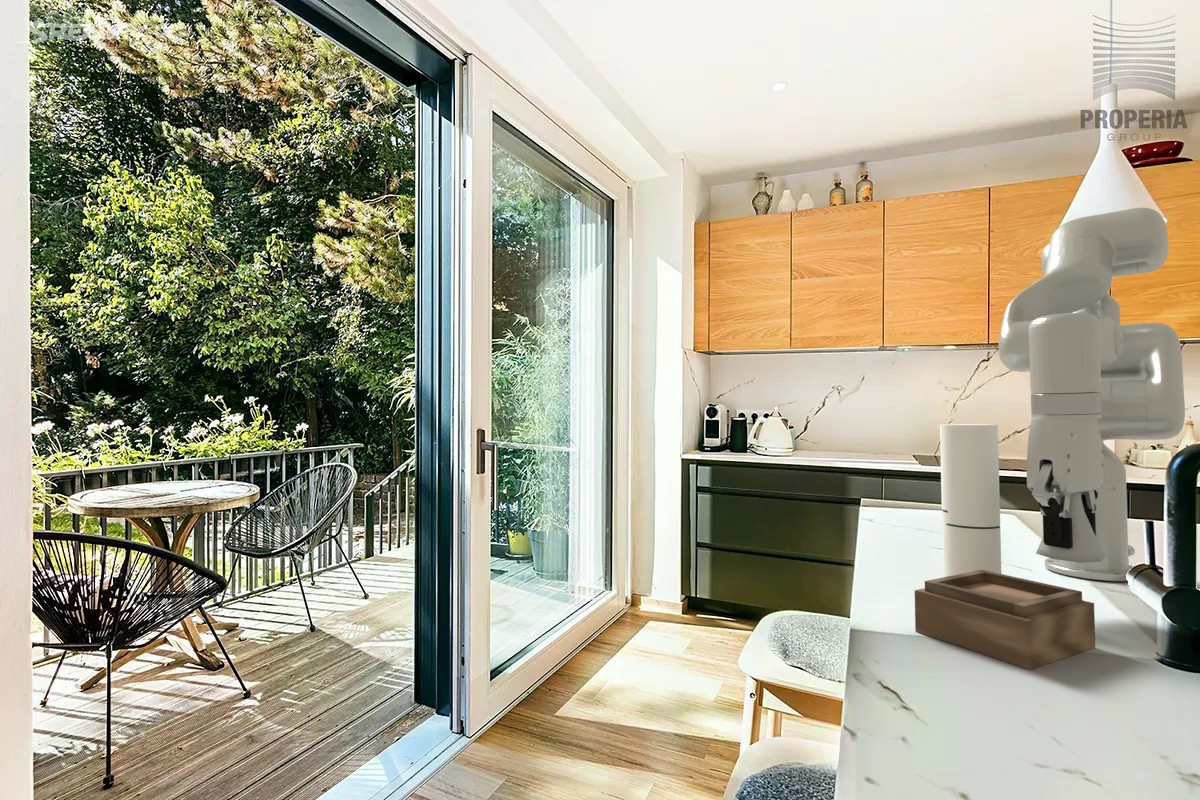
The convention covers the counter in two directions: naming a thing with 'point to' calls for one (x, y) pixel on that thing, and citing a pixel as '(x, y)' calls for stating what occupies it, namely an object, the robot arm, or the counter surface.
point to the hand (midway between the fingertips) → (1069, 542)
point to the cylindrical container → (970, 498)
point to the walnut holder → (1006, 617)
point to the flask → (1076, 537)
